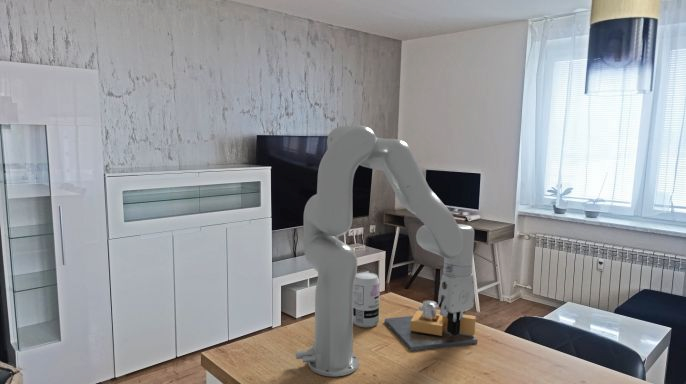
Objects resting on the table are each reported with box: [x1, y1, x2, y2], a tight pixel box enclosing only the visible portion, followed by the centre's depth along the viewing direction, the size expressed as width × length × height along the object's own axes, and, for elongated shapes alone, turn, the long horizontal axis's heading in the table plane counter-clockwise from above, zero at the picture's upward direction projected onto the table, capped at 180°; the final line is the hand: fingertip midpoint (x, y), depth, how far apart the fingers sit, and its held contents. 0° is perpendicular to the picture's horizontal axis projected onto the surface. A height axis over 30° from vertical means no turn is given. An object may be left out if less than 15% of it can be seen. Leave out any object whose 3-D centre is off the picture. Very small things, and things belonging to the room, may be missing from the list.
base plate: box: [384, 300, 478, 352], centre depth 136 cm, size 22×20×9 cm
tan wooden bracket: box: [410, 309, 477, 336], centre depth 134 cm, size 9×18×5 cm, turn 69°
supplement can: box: [353, 271, 381, 329], centre depth 142 cm, size 8×8×15 cm
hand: (453, 332), depth 130 cm, fingers closed
